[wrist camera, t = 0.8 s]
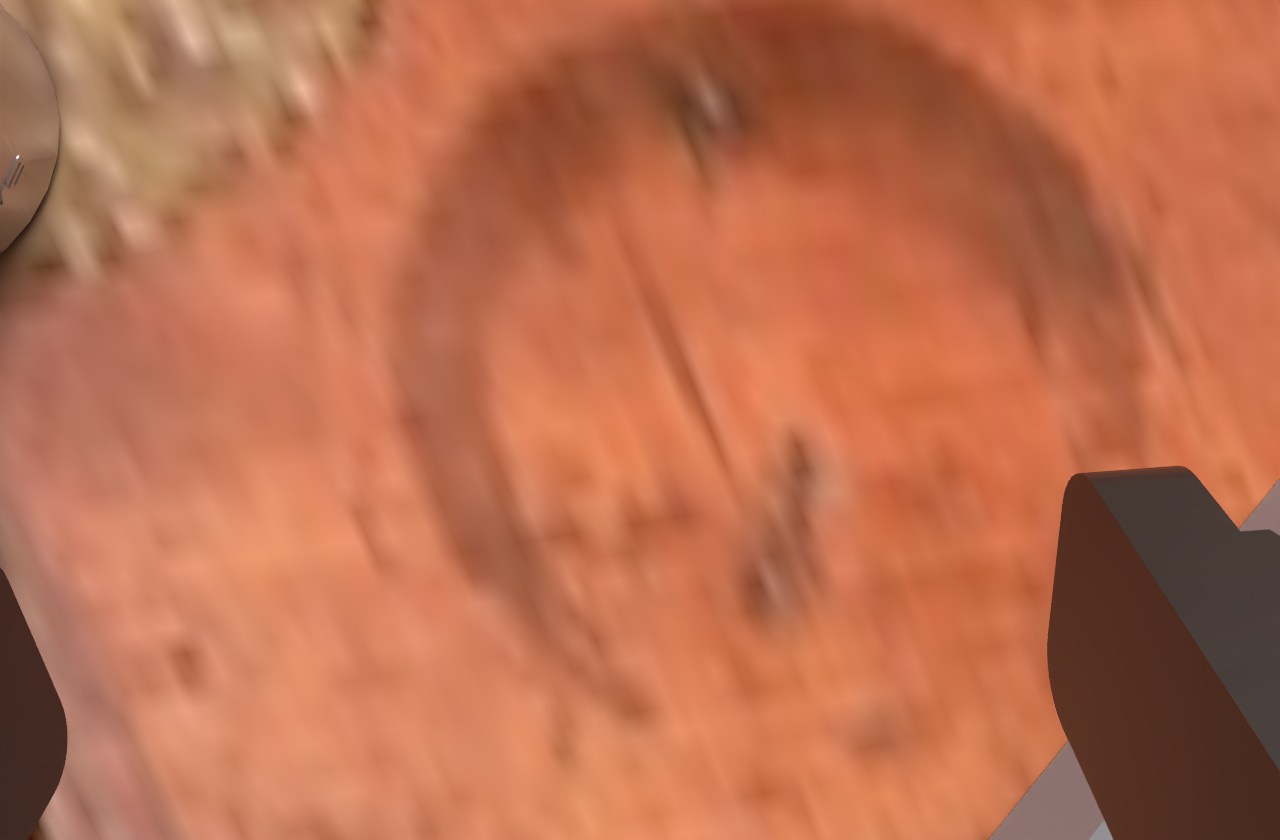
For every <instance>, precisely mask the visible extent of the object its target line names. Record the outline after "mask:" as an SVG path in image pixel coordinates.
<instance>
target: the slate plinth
mask: <svg viewBox="0 0 1280 840" xmlns="http://www.w3.org/2000/svg"><path fill="white" fill-rule="evenodd" d="M1266 529H1270V530H1271V531H1273V532H1275V533H1276V534H1278V535H1279V536H1280V479H1279V480H1278V481H1277V483H1276V484H1275V485H1274V486H1273V488H1272V489H1271V490H1270V491H1269V493H1268V494H1267V495H1266V496H1265V498H1264V499H1263V500H1262V501H1261V503H1260V504H1259V505H1258V506H1257V508H1256V509H1255V510H1254V511H1253V512H1252V514H1251V515H1250V516H1249V517H1248V519H1247V520H1246V521H1245V522H1244V524H1243V525H1242V526H1241V527H1240V529H1239V530H1240V531H1252V530H1266ZM989 840H1113V838H1112V836H1111V833H1110V831H1109V829H1108V827H1107V824H1106V822H1105V820H1104V818H1103V816H1102V813H1101V811H1100V809H1099V807H1098V805H1097V802H1096V800H1095V798H1094V796H1093V794H1092V791H1091V789H1090V787H1089V785H1088V782H1087V780H1086V778H1085V776H1084V774H1083V771H1082V769H1081V767H1080V765H1079V763H1078V760H1077V758H1076V756H1075V754H1074V752H1073V749H1072V747H1071V745H1070V743H1069V741H1068V742H1067V743H1066V744H1065V745H1064V747H1063V748H1062V749H1061V750H1060V752H1059V753H1058V754H1057V755H1056V757H1055V758H1054V759H1053V760H1052V762H1051V763H1050V764H1049V765H1048V767H1047V768H1046V769H1045V770H1044V771H1043V773H1042V774H1041V775H1040V776H1039V778H1038V779H1037V780H1036V781H1035V783H1034V784H1033V785H1032V786H1031V788H1030V789H1029V790H1028V791H1027V793H1026V794H1025V795H1024V796H1023V798H1022V799H1021V800H1020V801H1019V802H1018V804H1017V805H1016V806H1015V807H1014V809H1013V810H1012V811H1011V812H1010V814H1009V815H1008V816H1007V817H1006V819H1005V820H1004V821H1003V822H1002V824H1001V825H1000V826H999V827H998V829H997V830H996V831H995V832H994V833H993V835H992V836H991V837H990V838H989Z"/></svg>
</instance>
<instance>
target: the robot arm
mask: <svg viewBox="0 0 1280 840" xmlns="http://www.w3.org/2000/svg"><path fill="white" fill-rule="evenodd" d="M59 126H60V118H59V112H58V107H57V101H56V95H55V89H54V85H53V82H52V80H51V78H50V75H49V73H48V71H47V68H46V66H45V63H44V61H43V59H42V56H41V54H40V52H39V51H38V50H37V48H36V47H35V45H34V44H33V42H32V41H31V40H30V38H29V37H28V35H27V34H26V33H25V31H24V30H23V28H22V27H21V26H20V24H19V23H18V22H17V21H16V20H15V19H14V18H13V17H12V16H11V15H10V14H9V13H8V12H7V11H6V10H5V9H4V8H3V7H2V5H1V4H0V253H2V252H3V251H4V250H6V249H7V247H8V246H9V245H10V244H11V243H12V242H13V241H14V239H15V238H16V237H17V236H18V235H19V234H20V232H21V231H22V230H23V229H24V228H25V227H26V226H27V224H28V223H29V222H30V221H31V219H32V217H33V215H34V214H35V212H36V210H37V208H38V206H39V205H40V203H41V201H42V199H43V197H44V195H45V194H46V192H47V190H48V187H49V184H50V180H51V177H52V173H53V170H54V167H55V163H56V160H57V156H58V143H59ZM1047 656H1048V670H1049V678H1050V684H1051V690H1052V695H1053V699H1054V703H1055V707H1056V711H1057V714H1058V717H1059V720H1060V722H1061V725H1062V727H1063V729H1064V732H1065V734H1066V736H1067V738H1068V740H1069V743H1070V745H1071V747H1072V749H1073V752H1074V754H1075V756H1076V758H1077V760H1078V763H1079V765H1080V767H1081V769H1082V771H1083V774H1084V776H1085V778H1086V780H1087V782H1088V785H1089V787H1090V789H1091V791H1092V794H1093V796H1094V798H1095V800H1096V802H1097V805H1098V807H1099V809H1100V811H1101V813H1102V816H1103V818H1104V820H1105V822H1106V824H1107V827H1108V829H1109V831H1110V833H1111V836H1112V838H1113V840H1280V536H1279V535H1278V534H1276V533H1275V532H1273V531H1271V530H1270V529H1266V530H1252V531H1240V530H1239V529H1238V528H1237V527H1236V525H1235V524H1234V523H1233V522H1232V520H1231V519H1230V518H1229V517H1228V515H1227V514H1226V513H1225V512H1224V510H1223V509H1222V508H1221V507H1220V505H1219V504H1218V503H1217V502H1216V500H1215V499H1214V498H1213V497H1212V495H1211V494H1210V493H1209V492H1208V490H1207V489H1206V488H1205V487H1204V485H1203V484H1202V483H1201V482H1200V480H1199V479H1198V478H1197V477H1196V476H1195V475H1194V474H1193V473H1192V472H1191V471H1190V470H1189V469H1187V468H1186V467H1182V466H1170V467H1157V468H1143V469H1130V470H1117V471H1103V472H1090V473H1078V474H1075V475H1074V476H1072V477H1071V479H1070V480H1069V482H1068V484H1067V487H1066V489H1065V493H1064V498H1063V504H1062V513H1061V522H1060V531H1059V540H1058V549H1057V558H1056V567H1055V576H1054V585H1053V594H1052V603H1051V612H1050V621H1049V630H1048V642H1047ZM66 753H67V725H66V718H65V713H64V709H63V706H62V704H61V701H60V698H59V696H58V694H57V692H56V689H55V687H54V685H53V682H52V680H51V678H50V675H49V673H48V671H47V669H46V666H45V664H44V662H43V659H42V657H41V655H40V652H39V650H38V648H37V646H36V643H35V641H34V639H33V636H32V634H31V632H30V629H29V627H28V625H27V623H26V620H25V618H24V616H23V613H22V611H21V609H20V606H19V604H18V602H17V599H16V597H15V595H14V593H13V590H12V588H11V586H10V583H9V581H8V579H7V577H6V575H5V573H4V572H3V570H2V569H1V568H0V840H28V839H29V837H30V835H31V834H32V832H33V830H34V828H35V826H36V825H37V823H38V821H39V819H40V818H41V816H42V814H43V812H44V810H45V809H46V807H47V805H48V803H49V802H50V800H51V798H52V796H53V794H54V793H55V791H56V788H57V786H58V784H59V782H60V779H61V776H62V773H63V769H64V765H65V760H66Z"/></svg>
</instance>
